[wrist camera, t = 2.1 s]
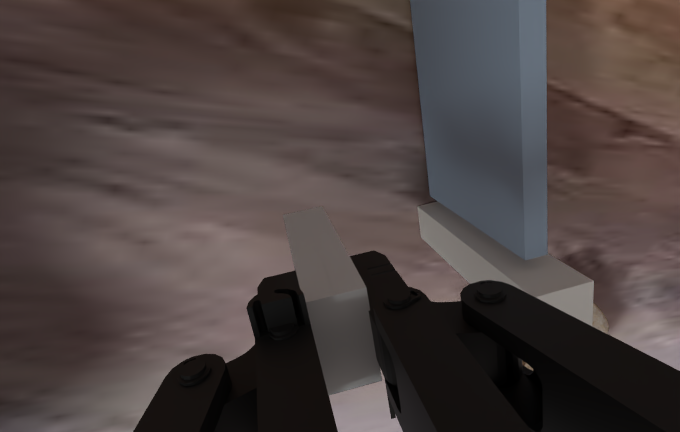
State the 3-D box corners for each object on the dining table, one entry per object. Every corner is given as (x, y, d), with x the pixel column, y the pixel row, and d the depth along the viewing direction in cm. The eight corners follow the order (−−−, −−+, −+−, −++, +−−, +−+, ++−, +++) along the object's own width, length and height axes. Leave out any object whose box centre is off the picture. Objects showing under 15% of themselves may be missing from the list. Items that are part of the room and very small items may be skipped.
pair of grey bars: (420, 237, 33) (534, 344, 20) (381, -106, 26) (523, -282, 13) (457, 228, 34) (592, 327, 21) (430, -112, 26) (614, -289, 13)
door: (425, 195, 32) (528, 266, 21) (398, -55, 27) (519, -150, 15) (463, 186, 33) (585, 251, 21) (444, -62, 27) (597, -159, 16)
